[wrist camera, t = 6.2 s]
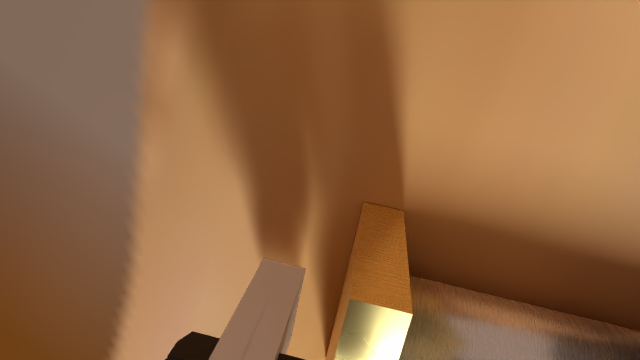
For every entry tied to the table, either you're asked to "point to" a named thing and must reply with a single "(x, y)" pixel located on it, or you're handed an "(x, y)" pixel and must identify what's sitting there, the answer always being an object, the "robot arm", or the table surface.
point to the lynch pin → (449, 313)
